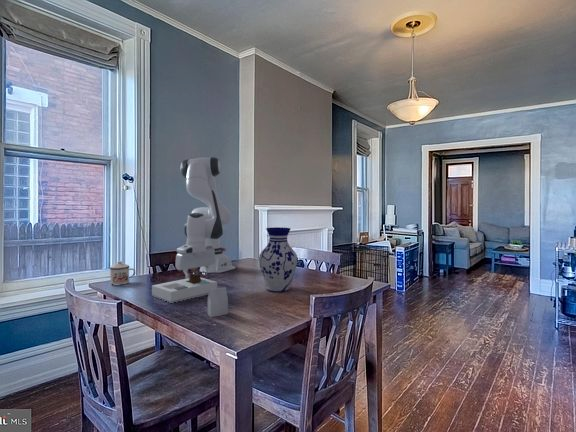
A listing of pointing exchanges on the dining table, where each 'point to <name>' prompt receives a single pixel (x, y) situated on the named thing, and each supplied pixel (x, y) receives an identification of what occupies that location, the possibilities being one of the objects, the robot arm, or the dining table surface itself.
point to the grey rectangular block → (217, 302)
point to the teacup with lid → (120, 273)
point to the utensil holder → (194, 277)
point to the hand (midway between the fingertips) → (196, 276)
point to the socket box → (182, 289)
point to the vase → (278, 261)
